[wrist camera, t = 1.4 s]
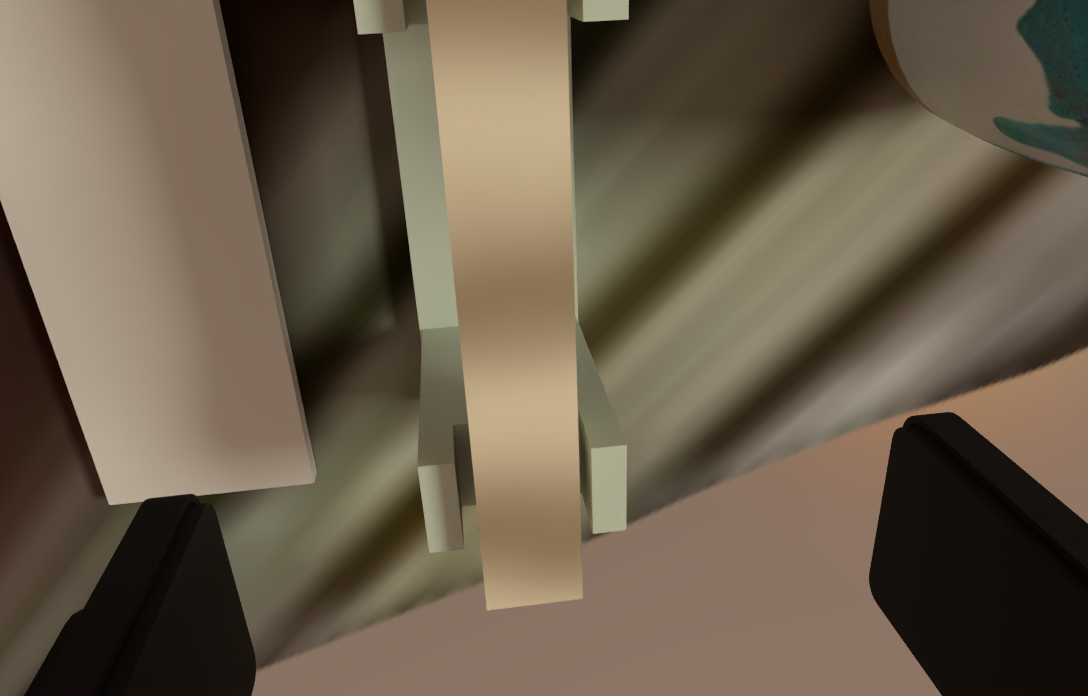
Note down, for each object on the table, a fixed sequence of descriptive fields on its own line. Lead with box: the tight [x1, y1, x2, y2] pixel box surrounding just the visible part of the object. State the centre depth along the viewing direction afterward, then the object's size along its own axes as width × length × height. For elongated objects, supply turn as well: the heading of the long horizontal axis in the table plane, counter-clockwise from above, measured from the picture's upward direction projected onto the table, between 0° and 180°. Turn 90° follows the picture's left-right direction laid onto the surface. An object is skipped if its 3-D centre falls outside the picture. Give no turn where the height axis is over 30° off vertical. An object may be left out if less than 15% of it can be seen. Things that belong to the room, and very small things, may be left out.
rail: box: [426, 0, 583, 610], centre depth 20 cm, size 20×3×3 cm, turn 3°
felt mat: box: [0, 0, 317, 505], centre depth 27 cm, size 24×8×1 cm, turn 3°
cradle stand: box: [353, 0, 629, 553], centre depth 24 cm, size 18×6×10 cm, turn 3°
